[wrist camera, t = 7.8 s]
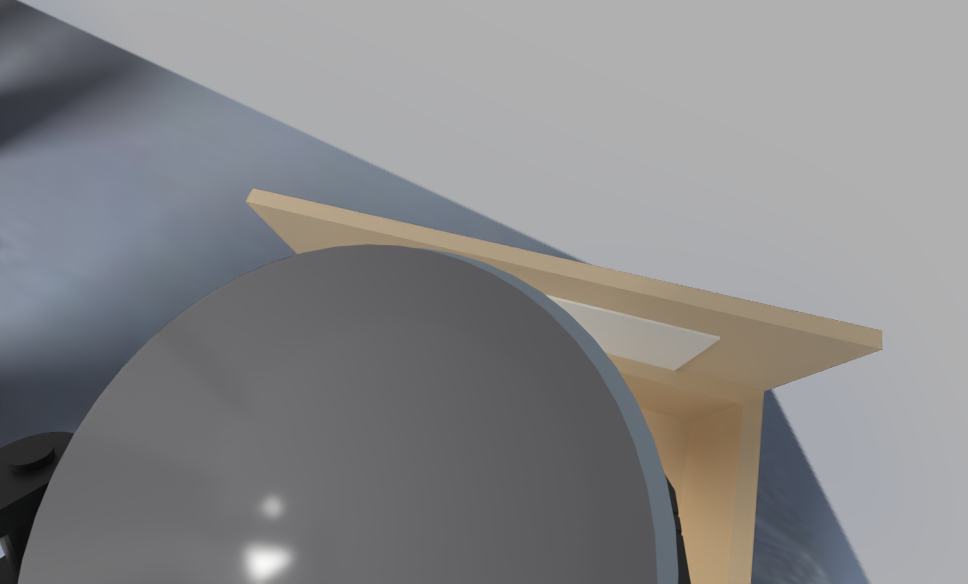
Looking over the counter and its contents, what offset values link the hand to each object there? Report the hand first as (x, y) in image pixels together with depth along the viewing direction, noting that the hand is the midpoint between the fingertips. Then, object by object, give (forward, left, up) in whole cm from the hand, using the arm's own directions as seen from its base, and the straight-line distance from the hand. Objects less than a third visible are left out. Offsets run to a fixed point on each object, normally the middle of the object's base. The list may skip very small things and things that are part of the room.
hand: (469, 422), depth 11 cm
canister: (0, -2, -6) cm, 6 cm away
